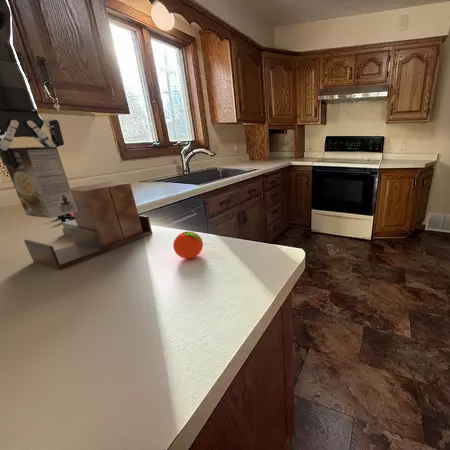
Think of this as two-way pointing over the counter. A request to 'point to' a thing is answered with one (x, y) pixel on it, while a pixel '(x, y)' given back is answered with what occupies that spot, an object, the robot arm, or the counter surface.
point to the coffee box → (41, 182)
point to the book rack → (96, 225)
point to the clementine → (188, 245)
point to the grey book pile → (67, 227)
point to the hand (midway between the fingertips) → (34, 166)
